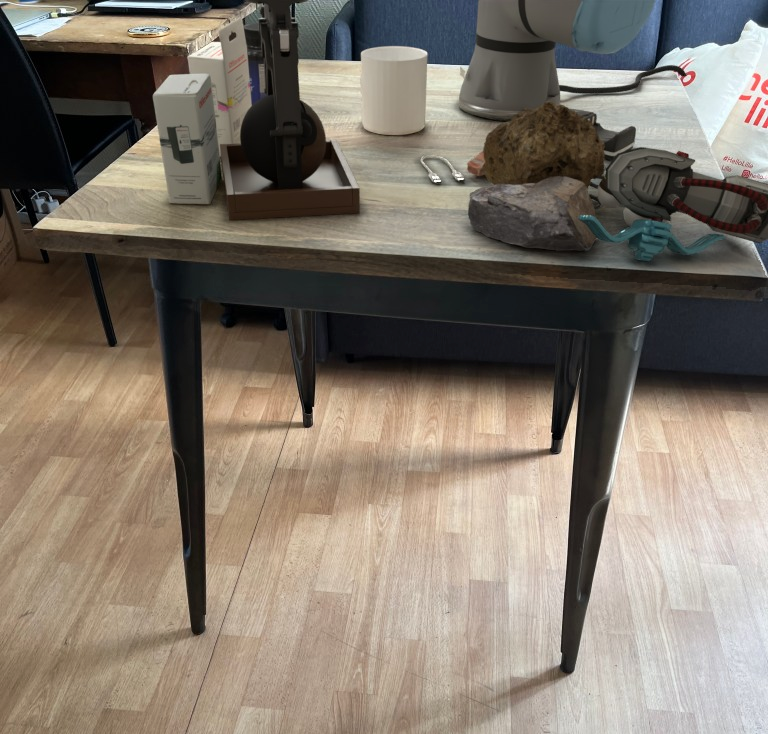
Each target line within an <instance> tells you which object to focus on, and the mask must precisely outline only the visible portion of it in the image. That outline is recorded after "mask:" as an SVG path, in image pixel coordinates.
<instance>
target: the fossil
mask: <svg viewBox="0 0 768 734" xmlns="http://www.w3.org/2000/svg"><path fill="white" fill-rule="evenodd" d="M570 109H571V108H569V107H567V106H565V105H563V104H560V105H558V104H556V103H552V102H551V101H547V102H545V103H544V104H543V105H541V106H539V107H538V108H537V109H534V110H533V109H531V108H525V109H523V110H522V112H519V113H516V114H514V115H513V117H512V119H511V121H505V122H502V123H499V124H498V125H497V126H496V127H494V128H492V130H491V131H490V132H488V133H487V135H486V137H485V142H484V146H483V150H482V151H483V153H484V155H483V156H484V160H485V163H484V164H483V172H484V174H485V175H484V176H485V177H486V179H487V181H488V182H490V183H491V184H492V185H495V184H512V185H522V184H528V183H538V182H540V181H542V180H544V179H547V178H550V177H555V176H561V177H564V176H566V177H569V178H573V179H576V180H579V181H582V182H583V183H584V184H585V185H586V187H587V189H589V187H590V186H589V185H590V184H591V182H592V180H597V179H596V178H598V177H600V176H601V175H605V174H606V173H605V168H606V167H605V166H606V165H605V159H604V157H605V153H604V151H603V150H604V147H605V144H604V142H603V141H601V140H600V139H599V136H598V134H597V133H596V131H595V128H594V127H593V123H592V122H591V121H589V120H587V119H585V118H584V117H582V116H581V115H578V114H577V113H576V112H575V111H571V110H570ZM590 181H591V182H590Z"/></svg>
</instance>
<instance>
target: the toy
mask: <svg viewBox="0 0 768 734" xmlns="http://www.w3.org/2000/svg"><path fill="white" fill-rule="evenodd" d="M300 108H301V124H302V126H303V132H302V135H300V137H301V161H302V181H304V180H306V179H308V178H309V177H310V176H312V175H313V174H314V173H315V172H316V170H317V169H318V168H319V166H320V164H321V163H322V160H323V158H324V154H325V150H326V140H327V136H326V132H325V131H326V130H325V128H324V125H323V122H322V120H321V118H320V117H319V115H318V114H317V112H316V111H315V109H313V108H312V107H311V106H310V105H309V104H308V103H307V102H305V101H303V100H301V99H300ZM284 123H294V122H284ZM270 130H276V117H275V107H274V96H273V95H269V96H266V97H263V98H262V99H260V100H258V101H257V102H255V103H254V104H253V105H252V106H251V107H250V108H249V110H248V111H247V113H246V114H245V116H244V119H243V121H242V125H241V130H240V142H241V147H242V151H243V154H244V156H245V158H246V160H247V162H248V163H249V165H250V166H251V167H252V168H253V170H254V171H255V172H256V173H258V174H259V175H260V176H262V177H263V178H265V179H267V180H269V181H272V182H275V183H278V176H277V159H276V142H275V137H272V138H271V137H270Z"/></svg>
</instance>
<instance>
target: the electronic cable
mask: <svg viewBox="0 0 768 734" xmlns="http://www.w3.org/2000/svg"><path fill="white" fill-rule="evenodd" d="M425 159H439V160H441V161H444V162H445V163H446V164H447V165H448V167H449V168H450V170H451V175H452V177H453V178H454V179H455V180H456V181H458V182H465V181H466V179H465V176H464V174H462V173H461V172H460V171H459V170H458V171H457V170H456V169H455V167H454V166H453V165H452V164H451V162H450V161H449V160H448V159H446V158H445V157H443V156H442V155H441V156H440V155H436V154H429V155H423V156H421V157H420V160H419V161H420V163H421V165H422V166H423V167H424V168H425V169H426V171H428V178H429V179H430V181H431V182H432V183H433V184H441V183H442V178H441V177H439V175H438V173H435V172H433V171H432V170H431V169H430V168H429V166H428V165H427V164H426V163H425V162H424V160H425Z"/></svg>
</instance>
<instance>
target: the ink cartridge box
mask: <svg viewBox="0 0 768 734" xmlns="http://www.w3.org/2000/svg"><path fill="white" fill-rule="evenodd" d="M243 21H244V20H243V18H242V17H241V16H240V17H239V18H237V19H235V20H233V21H231V22H229V23H227V24H226V25H225V26H224V27H222V28H220V29H218V37H219V41H211V42H209V43H207V45H205V46H203V47H202V48H200V49H198V50H196V51H195V52H193V53H191V54H190V55H188V56H187V57H186V58H187V62H188V71H189V74H209V75H210V77H211V84H212V93H213V101H214V110H215V119H216V128H217V137H218V146H219V155H220V158H221V152H220V144H240V143H241V142H240V130H241V125H242V121H243V119H244V116H245V114H246V113H247V111H248V110H249V108H250V107H251V106H252V104H251V91H250V80H249V68H248V55H247V45H246V40H245V33H244V27H243V26H244V22H243ZM232 33H235V37H234V38H233V39H231V40H230V36H231V35H232Z"/></svg>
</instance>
